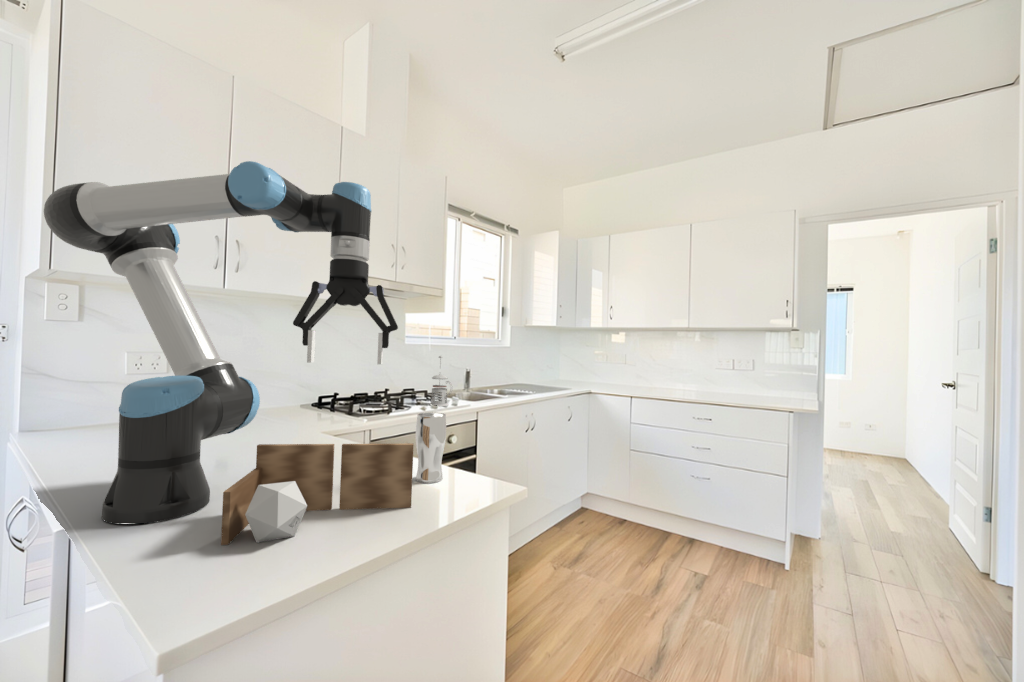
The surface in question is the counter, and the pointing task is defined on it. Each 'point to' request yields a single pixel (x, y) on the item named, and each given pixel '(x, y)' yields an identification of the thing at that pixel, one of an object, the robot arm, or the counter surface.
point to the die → (276, 511)
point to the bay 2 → (376, 476)
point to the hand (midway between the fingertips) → (345, 363)
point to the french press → (443, 390)
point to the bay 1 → (276, 466)
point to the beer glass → (430, 446)
